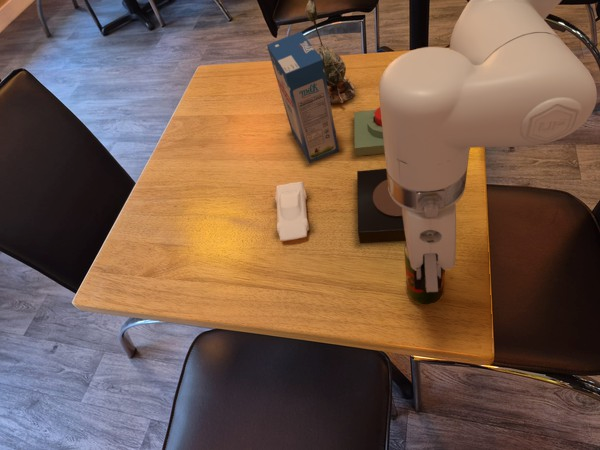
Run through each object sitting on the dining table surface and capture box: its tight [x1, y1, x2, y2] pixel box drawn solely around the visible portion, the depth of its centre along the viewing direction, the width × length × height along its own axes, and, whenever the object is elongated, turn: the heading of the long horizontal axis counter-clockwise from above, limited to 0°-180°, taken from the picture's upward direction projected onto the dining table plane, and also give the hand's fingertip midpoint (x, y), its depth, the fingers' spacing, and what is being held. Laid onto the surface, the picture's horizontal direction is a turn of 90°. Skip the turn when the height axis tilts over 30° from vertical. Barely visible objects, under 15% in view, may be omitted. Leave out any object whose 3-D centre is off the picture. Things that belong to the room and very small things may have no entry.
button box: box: [353, 106, 385, 157], centre depth 82 cm, size 12×10×4 cm
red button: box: [375, 107, 382, 127], centre depth 80 cm, size 4×4×2 cm
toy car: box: [274, 181, 310, 242], centre depth 75 cm, size 6×12×3 cm, turn 3°
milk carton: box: [266, 31, 340, 164], centre depth 79 cm, size 10×6×20 cm, turn 20°
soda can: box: [403, 242, 446, 306], centre depth 58 cm, size 5×5×12 cm
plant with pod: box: [304, 0, 356, 105], centre depth 86 cm, size 8×11×20 cm
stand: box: [356, 168, 406, 244], centre depth 72 cm, size 13×13×3 cm
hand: (425, 266), depth 57 cm, fingers closed on soda can, 5 cm apart
